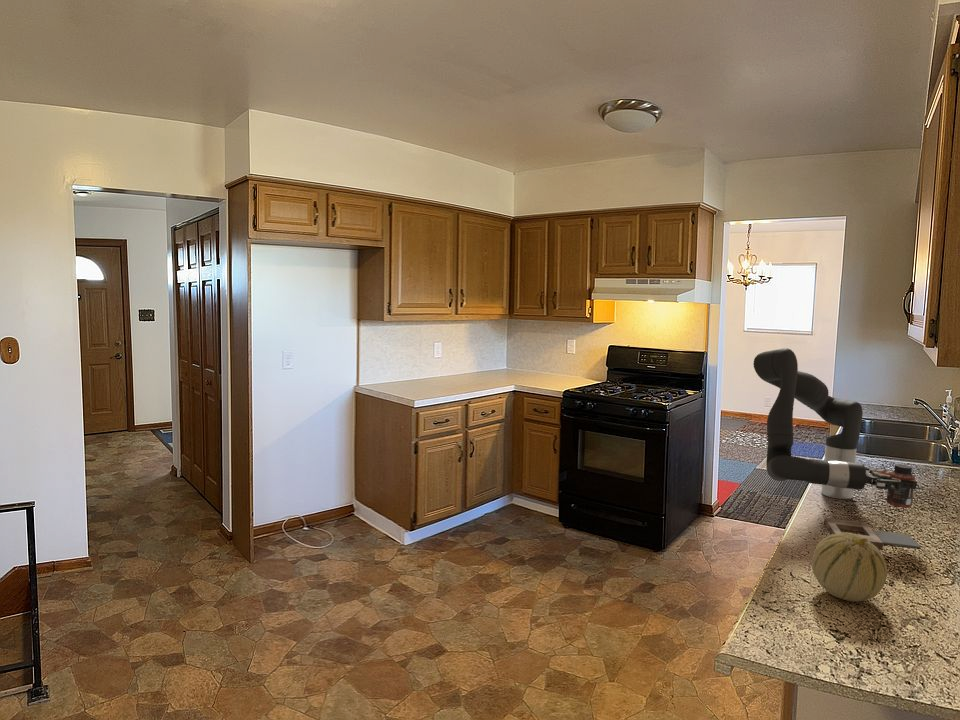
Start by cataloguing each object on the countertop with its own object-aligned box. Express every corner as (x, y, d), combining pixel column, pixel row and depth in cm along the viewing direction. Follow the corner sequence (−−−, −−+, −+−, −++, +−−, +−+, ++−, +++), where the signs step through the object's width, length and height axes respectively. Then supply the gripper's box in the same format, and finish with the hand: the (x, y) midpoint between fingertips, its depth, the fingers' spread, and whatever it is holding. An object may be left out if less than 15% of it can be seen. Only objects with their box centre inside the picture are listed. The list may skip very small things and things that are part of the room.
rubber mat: (872, 532, 183) (872, 530, 183) (908, 536, 180) (908, 534, 180) (882, 543, 174) (882, 542, 174) (920, 548, 172) (920, 546, 172)
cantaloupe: (816, 576, 153) (822, 517, 151) (887, 596, 144) (894, 533, 142) (802, 598, 142) (807, 534, 140) (878, 621, 133) (885, 553, 131)
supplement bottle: (915, 509, 173) (920, 469, 171) (891, 507, 174) (896, 467, 172) (905, 502, 178) (910, 463, 177) (882, 500, 180) (887, 461, 178)
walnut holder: (824, 522, 190) (824, 517, 189) (865, 527, 187) (865, 522, 186) (837, 542, 174) (838, 537, 174) (882, 548, 171) (883, 542, 171)
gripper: (852, 468, 172) (923, 475, 167) (838, 455, 186) (904, 462, 181) (849, 495, 173) (920, 503, 168) (836, 480, 187) (901, 487, 182)
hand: (911, 481), depth 175 cm, fingers closed on supplement bottle, 6 cm apart
